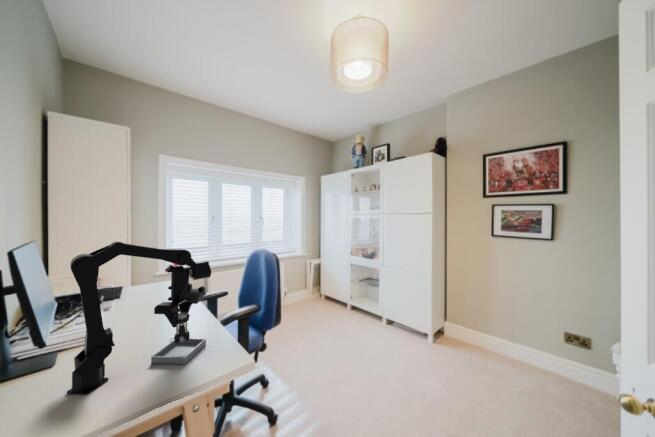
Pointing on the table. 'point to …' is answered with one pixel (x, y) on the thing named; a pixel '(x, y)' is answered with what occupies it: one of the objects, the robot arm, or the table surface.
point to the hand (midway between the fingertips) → (179, 323)
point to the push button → (181, 328)
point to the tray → (178, 352)
